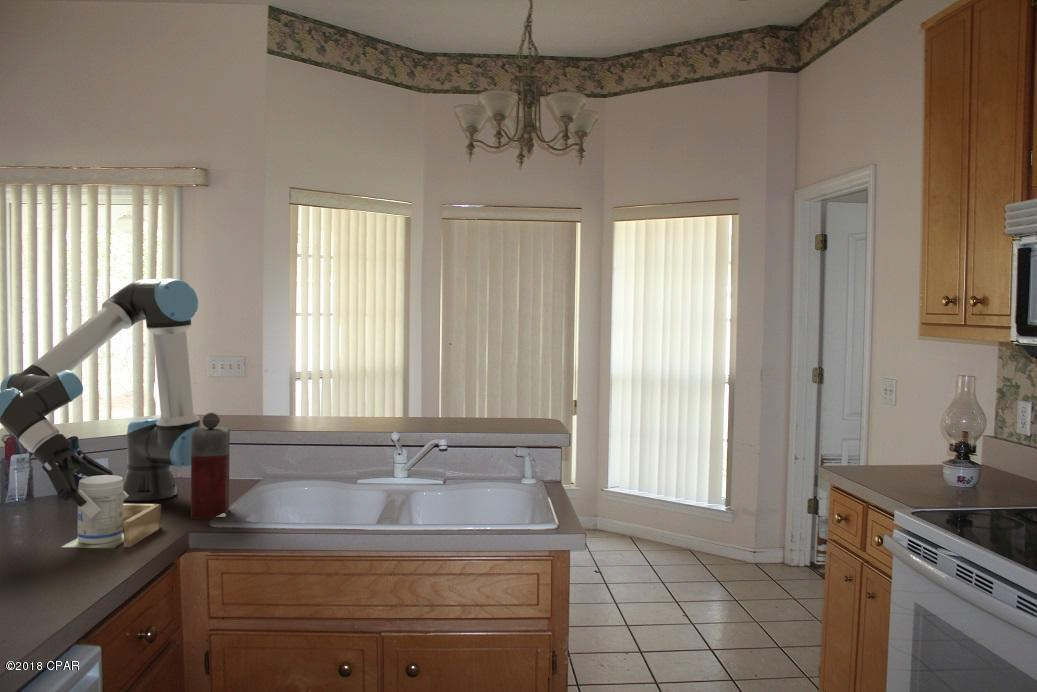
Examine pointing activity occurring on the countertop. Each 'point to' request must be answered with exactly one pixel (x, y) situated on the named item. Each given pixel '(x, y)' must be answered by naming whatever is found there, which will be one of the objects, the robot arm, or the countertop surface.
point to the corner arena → (130, 526)
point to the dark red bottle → (210, 469)
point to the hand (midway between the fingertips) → (110, 506)
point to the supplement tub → (102, 510)
